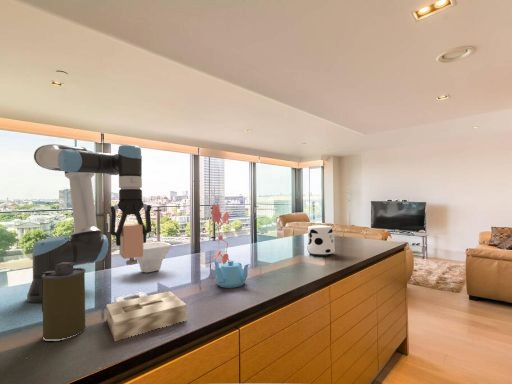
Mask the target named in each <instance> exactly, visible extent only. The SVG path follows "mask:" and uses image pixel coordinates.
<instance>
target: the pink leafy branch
mask: <svg viewBox="0 0 512 384" xmlns="http://www.w3.org/2000/svg"><path fill="white" fill-rule="evenodd" d="M210 214H211V216H212V218H211V220H210V221H209V223H211V222H212V221H213V224H217V225H218V226H217V231H218V238H217V239H218V241H217V242H218V244H220V241H223V242H225V243H226V247H228V246H229V243H228V242H227V241H226V240H224V239H223V235H220V229H219V228H220V227H221V226H222V225H224V224H225V225H230V221H229V218H230V214H229V212H228V211H226V212H224V214H223V215H222V212H220V205H219V204H218V203H216V204H215V203H212V209H211V211H210ZM225 249H226V250H225V253H224V254H223V256H222V253H221V252H222V251H221V250H218V252H217V253H216V255H215V257H214V258H213V259H214V260H216V261H217V259H219V258H221V260H222V261H221V262H222V265H223V264H225V263H228V261H231V260H230V259H229V254H228V253H227V252H228V248H225ZM207 267H208V268H210V266H209V265H208V266H207Z"/></svg>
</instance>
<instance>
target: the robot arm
mask: <svg viewBox="0 0 512 384" xmlns="http://www.w3.org/2000/svg"><path fill="white" fill-rule="evenodd" d="M142 158H143V157H142V149H141V146H138V145H133V144H122V145H119V146H118V151H117V154H116V153H107V152H106V153H105V152H95V150H93V149H91V148H88V147H83V146H71V145H65V144H64V145H61V144H55V143H54V144H45V145H42V146H39V147H37V148H36V149H35V151H34V153H33V160H34V163H36V165H38V166H39V167H41V168H43V169H45V170H50V171H57V172H64V177H65V178H67V179H68V180H69V189H70V199H71V207H72V208H71V209H72V216H73V227H74V231H73V232H72V233H71V234H70V236H71V238H69V236H67V235H59V236H54V237H52V236H51V237H48V238H43V239H40V240H37V241H36V242H34V244H33V246H32V253H31V256H32V281H31V283H30V287H29V289H28V292H27V297H26V301H27V302H28V303H31V304H35V303H36V304H38V303H41V304H42V273H44V272H47V271H55V266H56V265H57V264H60V263H62V262H75V265H73V267H75V266H80V265H86V264H94V263H95V262H96V263H97V262H101V261H103V260H104V259H105V257H106V256H107V253H108V251H109V240H108V237H107V236H106V235H105V234H102V230H101V229H100V228H98V224H97V217H96V208H95V200H94V192H93V191H94V189H93V183H92V182H93V181H92V178H93V177H94V176H95V174H101V175H102V174H105V175H109V176H118V188H119V190H118V203H117V204H116V205H113V206H112V205H111V206H109V211H110V225H109V234H110V235H111V236H115V245H116V246H117V247H119V252H118V253H119V256H121V255H123V236H120V235H121V232H122V229H123V226H124V225H125V222H126V219H127V217H128V216H130V215H133V216H135V219H136V221H137V224H139V225H142V231H143V243H147V234H148V233H151V232H152V220H151V219H152V217H151V210H152V209H151V208H152V206H151V205H150V204H146V203H145V204H144V202H143V189H142V188H143V187H142V186H143V177H142V173H143V171H142V170H143V169H142V166H143V165H142V164H143V163H142V162H143V161H142V160H143V159H142ZM142 208H143V210H144V217H145V225H144V221H143V218H142V216H141V215H142V214H141V213H140V212H141V210H142ZM118 209H119V210H120V211H121V215H120V219H119V222H118V226H117V229H116V221H117V220H116V219H117V218H116V217H117V212H118ZM145 227H146V228H145ZM143 253H144V248H143Z"/></svg>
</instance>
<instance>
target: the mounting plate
mask: <svg viewBox="0 0 512 384" xmlns="http://www.w3.org/2000/svg"><path fill="white" fill-rule="evenodd" d="M187 311H188V310H187V303H185V302H184V301H183V300H181V299H180V297H178V296H176V294H174V293H173V292H171V290H169V291H164V292H160V293H155V294H150V295H147V296H145V297H140V298H136V299H131V300H126V301H122V302H117V303H115V302H112V303H109V304H108V303H107V304H106V322H107V325H108V327H109V329H110V333H111V335H112V338H113V341H114V342H117V341H118V342H119V341H122V340H125V339H129V338H132V337H134V336H135V335H136V336H138V334H139V335H142V333H143V334H146V333H149V332H148V331H150V332H152V331H151V330H153V331H155V330H154V329H157V328H160V329H163V328H167V327H170V326H174V325H177V324H180V323H179V322H181V323H184V322H186V321H187V317H188V315H187ZM183 321H184V322H183ZM187 322H188V321H187ZM176 323H177V324H176ZM173 324H174V325H173ZM166 326H167V327H166ZM162 327H163V328H162ZM157 330H158V329H157ZM145 332H146V333H145ZM131 336H132V337H131ZM136 336H135V337H136ZM128 337H129V338H128ZM121 339H122V340H121Z"/></svg>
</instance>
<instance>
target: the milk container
mask: <svg viewBox="0 0 512 384" xmlns="http://www.w3.org/2000/svg"><path fill="white" fill-rule="evenodd" d="M333 229H334V228H333V226H332V225H323V224H322V225H309V226H308V227H307V238H308V241H307V244H306V245H307V246H306V248H307V252H308V254H310V255H312V256H320V257H326V256H331V255H334V253H335V249H336V247H335V242H334V230H333Z"/></svg>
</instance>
